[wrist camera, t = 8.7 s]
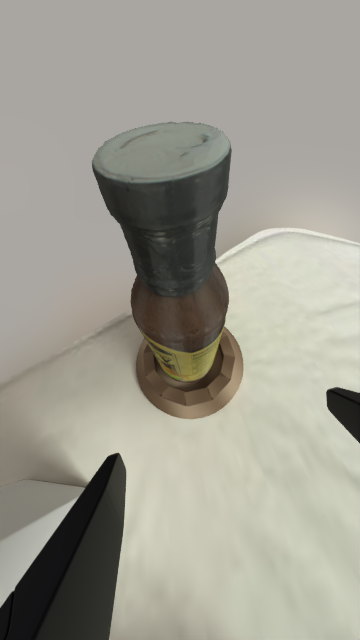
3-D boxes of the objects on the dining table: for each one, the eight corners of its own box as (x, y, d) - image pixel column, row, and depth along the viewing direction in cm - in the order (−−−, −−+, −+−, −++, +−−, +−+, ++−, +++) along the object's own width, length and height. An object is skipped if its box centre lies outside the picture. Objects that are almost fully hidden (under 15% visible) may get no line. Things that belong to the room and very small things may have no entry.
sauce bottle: (156, 345, 24) (51, 129, 7) (201, 330, 24) (211, 96, 7) (171, 395, 20) (34, 222, 3) (222, 376, 21) (332, 146, 4)
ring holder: (185, 449, 18) (183, 451, 16) (118, 357, 24) (112, 352, 22) (264, 362, 22) (270, 357, 20) (191, 301, 28) (190, 292, 26)
